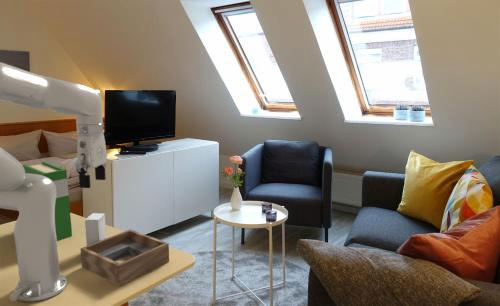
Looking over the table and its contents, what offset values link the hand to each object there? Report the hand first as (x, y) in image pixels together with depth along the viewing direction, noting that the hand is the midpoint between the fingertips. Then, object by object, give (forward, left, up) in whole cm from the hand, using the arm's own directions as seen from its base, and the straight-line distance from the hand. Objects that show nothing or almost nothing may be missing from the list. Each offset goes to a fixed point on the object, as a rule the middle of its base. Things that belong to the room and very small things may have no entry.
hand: (93, 183), depth 128 cm
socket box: (-8, -13, -22) cm, 27 cm away
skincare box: (-1, 0, -23) cm, 23 cm away
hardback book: (+12, +23, -23) cm, 34 cm away
